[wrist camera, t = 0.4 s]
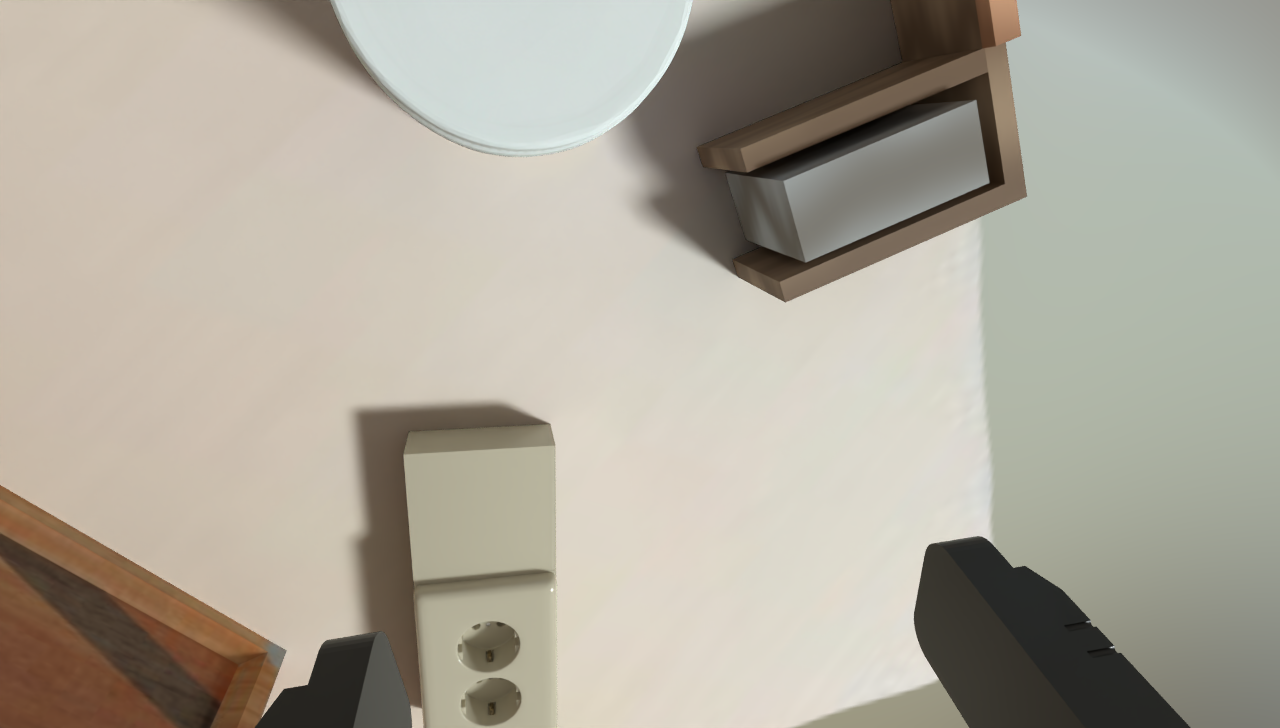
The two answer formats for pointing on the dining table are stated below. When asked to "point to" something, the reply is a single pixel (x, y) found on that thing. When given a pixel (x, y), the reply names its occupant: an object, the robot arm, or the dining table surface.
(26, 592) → the wooden box
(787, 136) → the rack
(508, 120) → the supplement tub
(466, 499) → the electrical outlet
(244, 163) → the dining table surface
